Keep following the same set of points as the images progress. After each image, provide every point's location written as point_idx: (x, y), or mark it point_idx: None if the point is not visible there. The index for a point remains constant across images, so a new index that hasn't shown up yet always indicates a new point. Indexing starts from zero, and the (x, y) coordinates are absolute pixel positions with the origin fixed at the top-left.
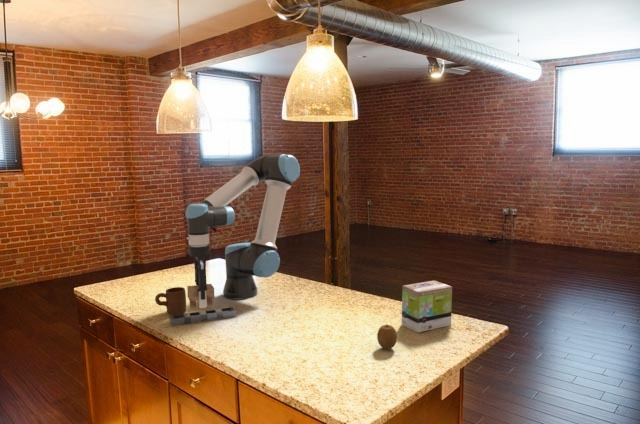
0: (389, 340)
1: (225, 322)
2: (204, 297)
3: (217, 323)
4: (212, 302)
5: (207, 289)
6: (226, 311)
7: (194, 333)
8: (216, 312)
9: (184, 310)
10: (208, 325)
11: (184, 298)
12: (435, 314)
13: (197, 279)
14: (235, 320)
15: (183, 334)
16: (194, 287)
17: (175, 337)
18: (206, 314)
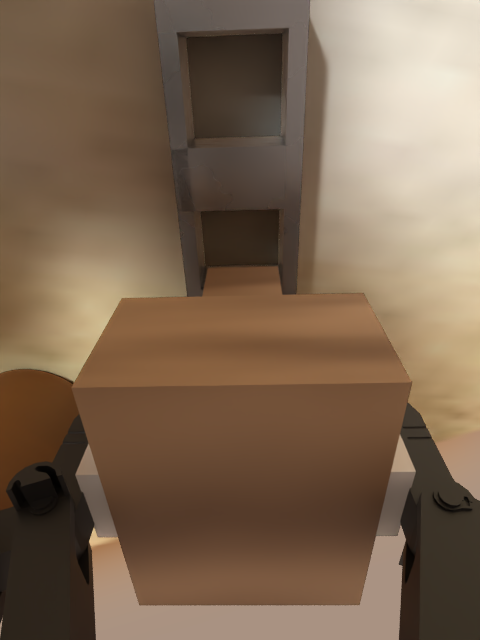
0: None
1: (398, 130)
2: (421, 426)
3: (382, 199)
4: (278, 277)
5: (390, 457)
6: (300, 102)
7: (472, 354)
8: (283, 207)
9: (62, 388)
10: (385, 266)
11: (16, 451)
12: None
13: (90, 629)
14: (402, 18)
15: (445, 402)
16: (226, 564)
17: (460, 433)
18: (295, 290)
